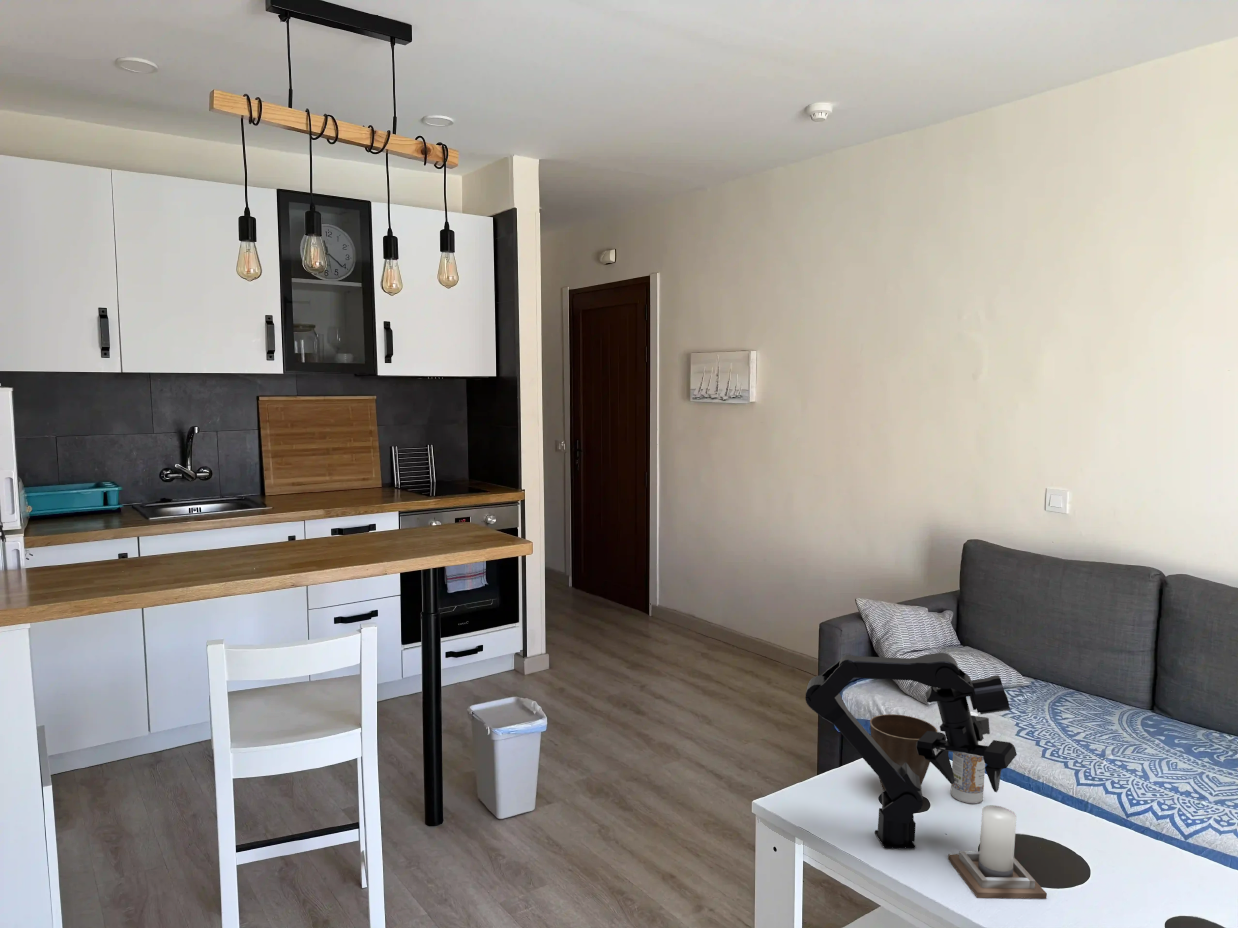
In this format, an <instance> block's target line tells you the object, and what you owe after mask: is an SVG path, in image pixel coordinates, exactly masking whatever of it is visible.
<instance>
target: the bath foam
mask: <svg viewBox="0 0 1238 928" xmlns="http://www.w3.org/2000/svg"><path fill="white" fill-rule="evenodd" d="M970 714H971V715H972V716H978V717H980V716H979V713H978V712H975V711H970ZM978 745H984V746H986V743H985V741H984V739H983V740H982V741H978ZM951 767H952V770H953V774H954V780H955V782H954V783H953V784H951V783H950V794H951V796H952V797H953V798H954V799H956V800H957V801H959V802H962V803H967V804H979V803H981V802H982V801H983V800H984V789H985V788H984V787H985V775H986V773H985V772H986V770H985V767H986V763H985V762H984V758H983V756H980V755H973V754H967V753H966V754H963V753H956V752H952V764H951Z"/></svg>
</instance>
